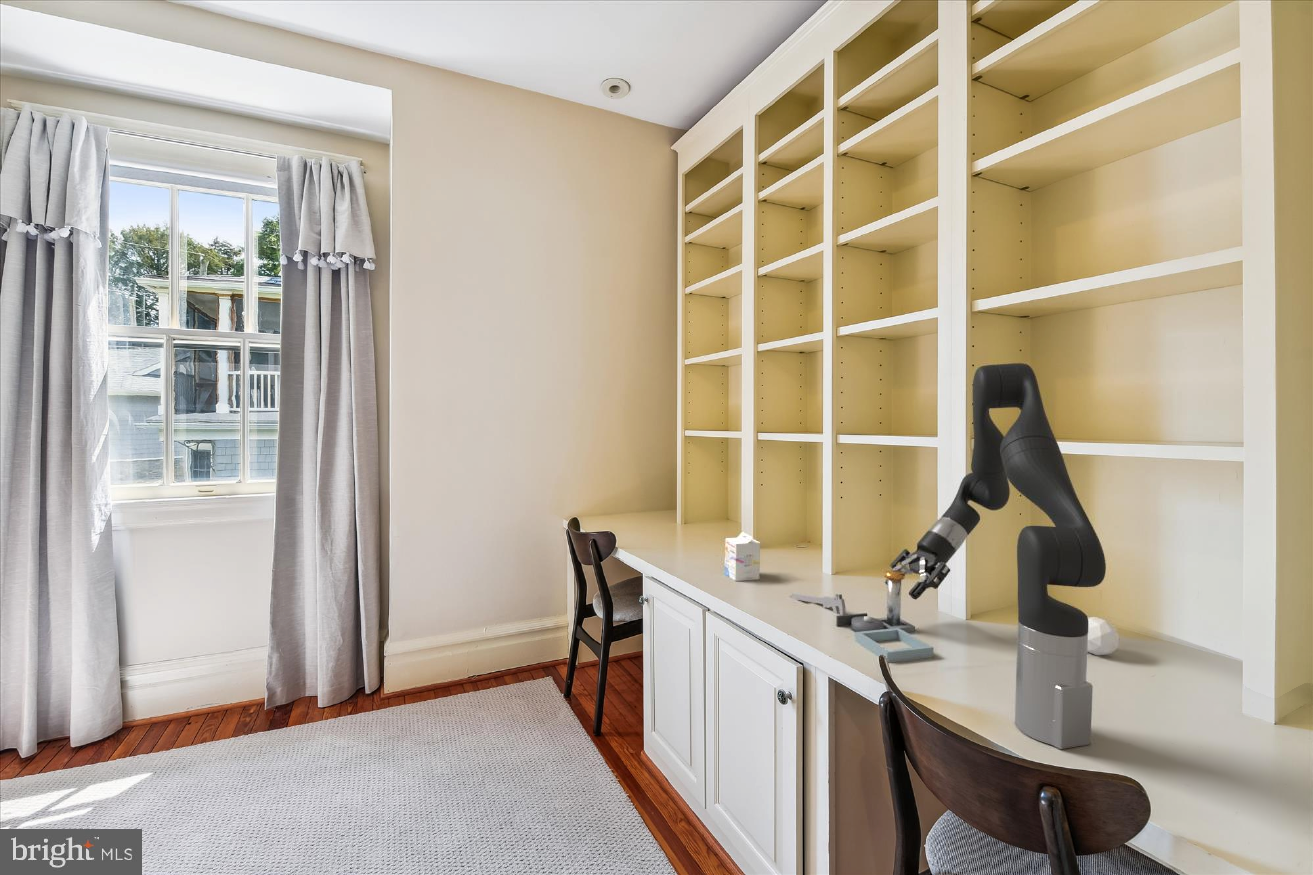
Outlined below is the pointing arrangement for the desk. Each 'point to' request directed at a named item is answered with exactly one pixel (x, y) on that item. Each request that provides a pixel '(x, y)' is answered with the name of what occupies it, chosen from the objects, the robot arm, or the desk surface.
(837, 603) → the caliper
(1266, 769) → the desk surface
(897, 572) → the pin
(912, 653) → the tray
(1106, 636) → the geometric ball
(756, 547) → the ink box
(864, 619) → the plate
